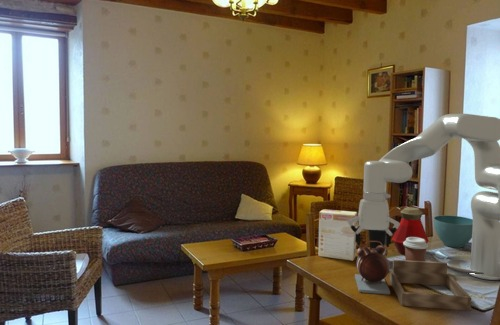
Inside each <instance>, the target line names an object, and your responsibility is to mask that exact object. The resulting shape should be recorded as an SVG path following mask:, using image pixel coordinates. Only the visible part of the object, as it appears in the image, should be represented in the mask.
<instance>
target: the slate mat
mask: <svg viewBox="0 0 500 325" xmlns="http://www.w3.org/2000/svg"><path fill="white" fill-rule="evenodd" d="M362 278H363V277H362V276H361V275H360V273H358V274H357V273H355V274H354V280H355V282H356V286H357V290H358V293H361V292H362V293H363V294H365V293H366V294H376V295H377V294H379V295H380V294H381V295H391V290H390V288H389V286H388V284H387V282H386V280H385V278H384V279H383V280H382V282H383V283H381V281H379V282H370V281H366V283H364V282H365V279H363V281H361V279H362ZM362 293H361V294H362Z"/></svg>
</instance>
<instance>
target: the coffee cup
mask: <svg viewBox="0 0 500 325" xmlns="http://www.w3.org/2000/svg"><path fill="white" fill-rule="evenodd" d="M403 245H404V246H405V255H404V257H405V259H404V260H409V261H425V260H426V253H427V252H426V251H427V249H428V248H429V244H428V242H427V243H426V241H425V240H424V239H422V238H418V237H408V238H406V240H405V241H404V242H403Z"/></svg>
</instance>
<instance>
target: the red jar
mask: <svg viewBox="0 0 500 325" xmlns="http://www.w3.org/2000/svg"><path fill="white" fill-rule="evenodd" d="M399 213H400V215H401V219H400V221H399V223H400V225H399V227H398V228H397V231H396V232H394V233H393V235H392V237H391V241H392V242H393V244H394V246H395V248H396V251H397V252H398V253H399V254H400V255H402V256H405V246H404V245H403V242H404V241H405V240H406V238H408V237H418V238H422V239H424V240H425V241H426V243H427V244H428V242H429V239H428V236H427V235H428V234H427V233H426V230H425V228H424V225H423V221H422V219H421V218H422V216H423V214H424V212H423V211H422V210H421V209H420V208H419V207H411V206H410V207H405V208H403V209H402V210H401V211H399Z"/></svg>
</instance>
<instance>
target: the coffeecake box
mask: <svg viewBox="0 0 500 325" xmlns="http://www.w3.org/2000/svg"><path fill="white" fill-rule="evenodd" d="M318 213H319V214H318V216H319V217H318V254H317V255H318V257H323V258H332V259H338V260H344V261H354V260H355V258H356V257H357V242H355V235H356V233H355V232H354V231H353V230H352V229H351V227H350V225H349V223H348V220H350V219H352V218H354V217H357V216H358V212H357V211H349V210H336V209H326V208H325V209H322V210H320V211H319V212H318ZM353 225H354V226H355V228H357V227H358V226H357V225H358V221H356V222H354V223H353Z"/></svg>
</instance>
